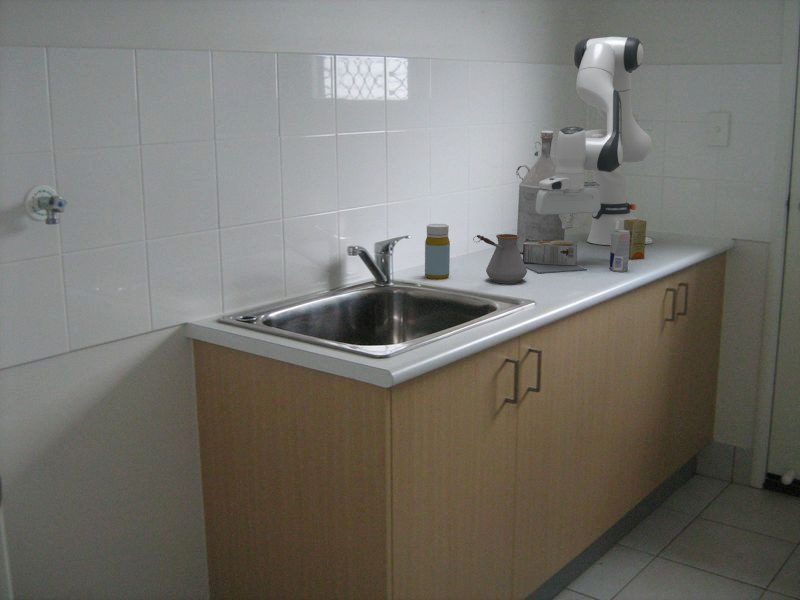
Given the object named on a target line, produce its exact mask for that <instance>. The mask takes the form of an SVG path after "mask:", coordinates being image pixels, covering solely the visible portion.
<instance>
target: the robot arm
mask: <svg viewBox="0 0 800 600" xmlns="http://www.w3.org/2000/svg"><path fill="white" fill-rule="evenodd" d="M643 59H644V48H643V44H642V42H641V41H640V39H639V38H636V37H632V36H628V37H624V36H607V37H597V38H590V37H589V38H584V39H581V40H580V41H579V42H578V43H577V44H575V49H574V52H573V61H574V65H575V67H576V68H577V69H578V72H577V76H576V77H577V78H576V81H575V90H576V93H577V95H578V98H580V99H581V100H582V101H583V102H584V103H585V104H587V105H589V106H590V107H594V108H596V109H597V112H598V115H599V116H600V117H601V118H603V119H605V120H606V129H599V128H598V129H588V130H585V128H583V127H580V126H568V127H567V126H566V127H562V128H560V130H559V132H558V134H557V140H556V148H555V161H556V165H555V166H556V170H555V176H553V177H550V178H548V179H545V180H542V181H540V182H539V187H540V188H542V189H540V190H539V191H538V194H537V198H536V211H537V213H538V214H541V215H549V214H559V218H560V220H561V222H562V228H563V229H565V230H567V229H573V228H574V223H575V222H576V220H577V218H578V214H591V217H592V220H591V226H590V231H589V234H588V237H587V239H586V242H588V243H591V244H595V245H603V246H611V233H612V230H615V229H624V220H633V219H638V218H637V217H636V216H634V215H633V214H632V213H631V210H632V211H635V210H636V209H637V207H636V203H629V202H627V196H628V185H629V184H628V180H627V178H626V177H625V176H624V175H623V174H621V173H620V172H617V171H615V170H617V169H618V168H619V167H620V166H621V165H622V163H631V164H632V163H638V162H644V161H646V160H647V159H648V158H649V156H650V155H651V152H652V149H653V143H652V138H651V137H650V135H649V134H648V133H647V132H646V131H645V130H644V129H642V128H641V127H640V125H639V124H638V122H637V121H636V120H635V117H634V114H633V107H632V73H633V72H634V71H636V70H638V68H639V67H640V66H641V64H642V61H643ZM586 170H587V171H591V174H592V177H593V181H586V180H585V179H586ZM567 214H569V217H570V218H569V220H568V221H567V220H566V218H567ZM564 217H565V218H564ZM646 244H648V245H649V244H653V239H652V238H649V237H647V235H646V236H645V245H646Z"/></svg>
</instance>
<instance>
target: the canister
mask: <svg viewBox="0 0 800 600" xmlns="http://www.w3.org/2000/svg"><path fill="white" fill-rule="evenodd" d="M540 138H541V142H540V141H534V148H535V149H536V151H535V152H534V156H535V157H538V156H539V152H540V151H541V152H540V153H541V154H540V156H539V157H538V159H537V160H536V161H535V163H534V164H533V166H532V167H531V168H530V167H529V166H528V165H526V164H525V165H519V166H518V167H517V169H516V176H518V179H521V182H520V183H519V184H518V187H519V188H518V206H517V207H518V209H517V224H516V225H517V228H516V235H518V236H519V238H518V239H517V243H516V244H517V246H518V249H519V251H520V254H523V244H524V242H525V240H526V239H541V240H565V235H566V234H565V231H566V229H563V228H562V222H561V220H560V218H559V214H549V215H541V214H538V213H537V211H536V198H537V194H538V191H539V190H540V189H542V188H540V187H539V182H540V181H542V180H545V179H548V178H550V177H553V176H555V170H556V166H557V165H556V164H555V162H554V160H553V158H552V156H551V148H552V144H553V143H552V142H553V138H554V131H553V130H542V131H540ZM537 143H538V144H539V145H541V149H540V150H538V149H537ZM523 167H525V168H526V169H527V172H526V174H525V176H524V177H521V176H520V173H519V171H520V169H521V168H523ZM564 218H565V219H566V217H564Z"/></svg>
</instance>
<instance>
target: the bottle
mask: <svg viewBox="0 0 800 600" xmlns="http://www.w3.org/2000/svg"><path fill="white" fill-rule="evenodd" d="M449 230H450V229H449V225H448V224H445V223H430V224H429V223H428V224H427V225H426V239H425V242H424V276H425V277H426V278H427V279H430V278H431V280H445V279H447V278H449V276H450V260H451V258H450V255H451V253H450V250H451V249H450V247H451V244H450V238H449ZM444 278H445V279H444Z"/></svg>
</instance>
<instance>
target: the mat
mask: <svg viewBox="0 0 800 600" xmlns="http://www.w3.org/2000/svg"><path fill="white" fill-rule="evenodd" d="M524 264H525V267H526V270H529V271H532V272H534V273H536V274H541V275H542V274H553V273H566V272H567V273H568V272H586V271H588V268H585V267H582V266H581V265H579V264H575V266H574V265H551V264H529V263H524Z"/></svg>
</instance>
